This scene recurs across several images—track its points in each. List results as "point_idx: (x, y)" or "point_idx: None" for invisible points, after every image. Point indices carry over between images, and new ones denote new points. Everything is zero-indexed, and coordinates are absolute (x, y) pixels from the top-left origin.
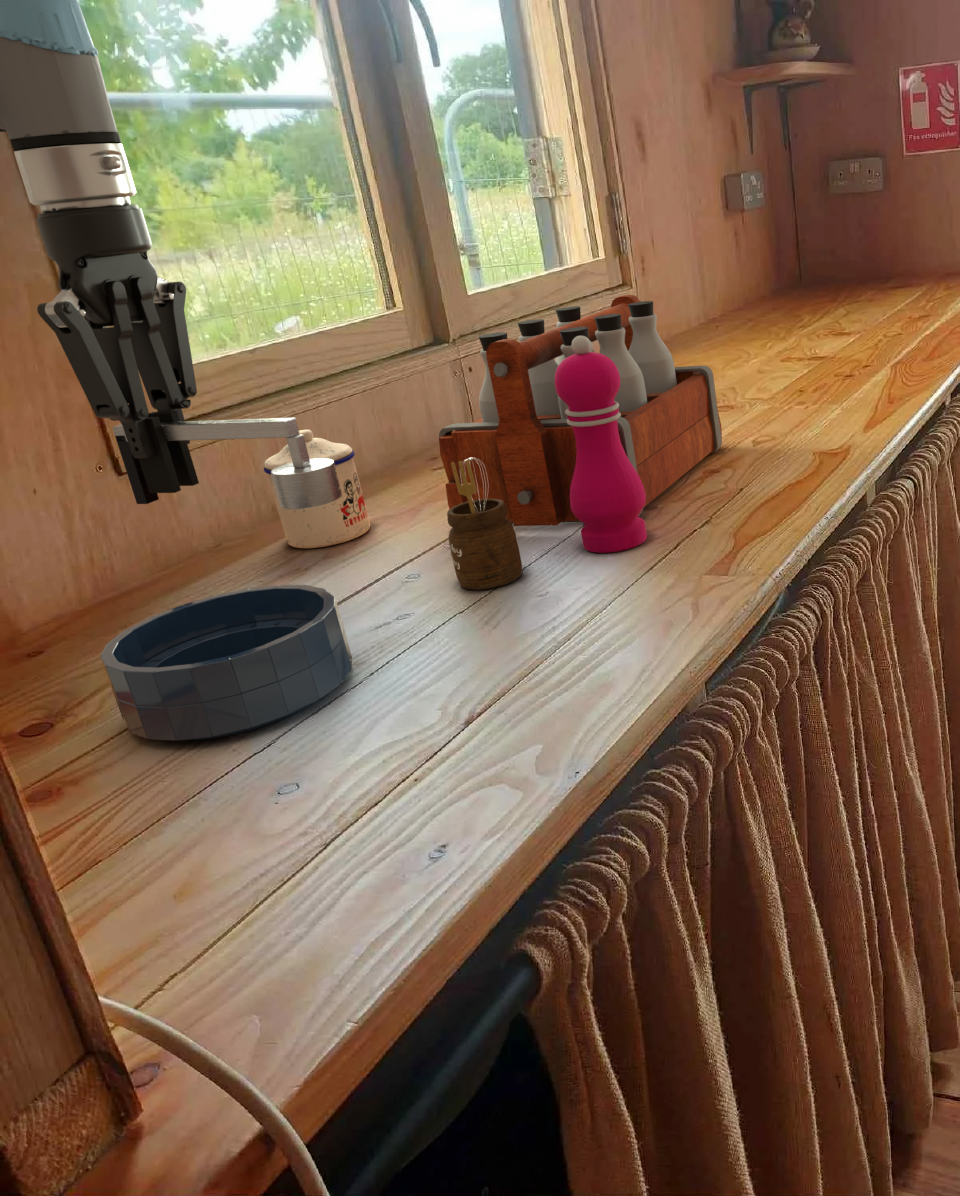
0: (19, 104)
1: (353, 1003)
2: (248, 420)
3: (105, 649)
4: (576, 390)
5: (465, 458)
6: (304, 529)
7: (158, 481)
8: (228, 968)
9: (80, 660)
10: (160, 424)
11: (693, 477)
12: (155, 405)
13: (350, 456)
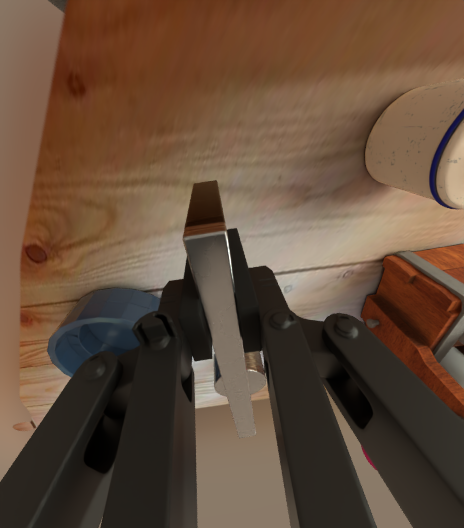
0: None
1: None
2: (244, 415)
3: (54, 334)
4: (363, 451)
5: (425, 303)
6: (377, 155)
7: None
8: (46, 410)
9: (99, 167)
10: (211, 344)
11: None
12: (261, 329)
13: None
